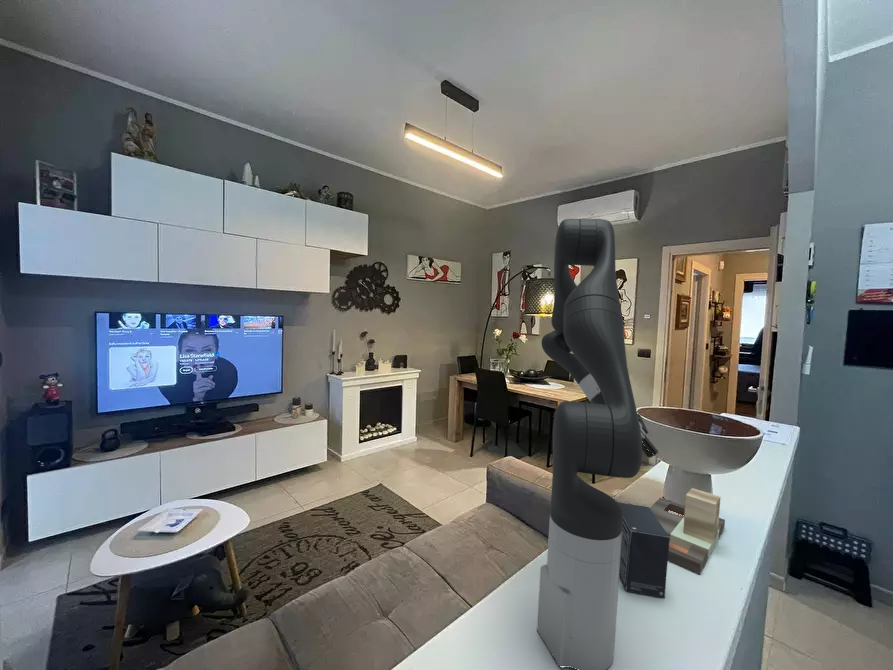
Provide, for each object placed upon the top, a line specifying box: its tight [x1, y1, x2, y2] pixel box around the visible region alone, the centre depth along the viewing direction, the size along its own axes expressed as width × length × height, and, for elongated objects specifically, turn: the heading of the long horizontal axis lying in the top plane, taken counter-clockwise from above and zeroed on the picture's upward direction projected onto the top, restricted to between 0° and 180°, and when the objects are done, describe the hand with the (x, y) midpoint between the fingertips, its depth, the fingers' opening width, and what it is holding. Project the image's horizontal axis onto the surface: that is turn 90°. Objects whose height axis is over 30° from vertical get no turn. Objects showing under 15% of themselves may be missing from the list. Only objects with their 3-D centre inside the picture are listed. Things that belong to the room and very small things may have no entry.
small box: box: [616, 501, 670, 599], centre depth 65 cm, size 11×6×10 cm, turn 168°
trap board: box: [649, 497, 726, 576], centre depth 79 cm, size 23×13×2 cm, turn 134°
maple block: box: [683, 488, 722, 544], centre depth 76 cm, size 5×5×8 cm
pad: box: [670, 518, 720, 559], centre depth 76 cm, size 10×6×2 cm, turn 134°
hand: (654, 455), depth 82 cm, fingers closed
